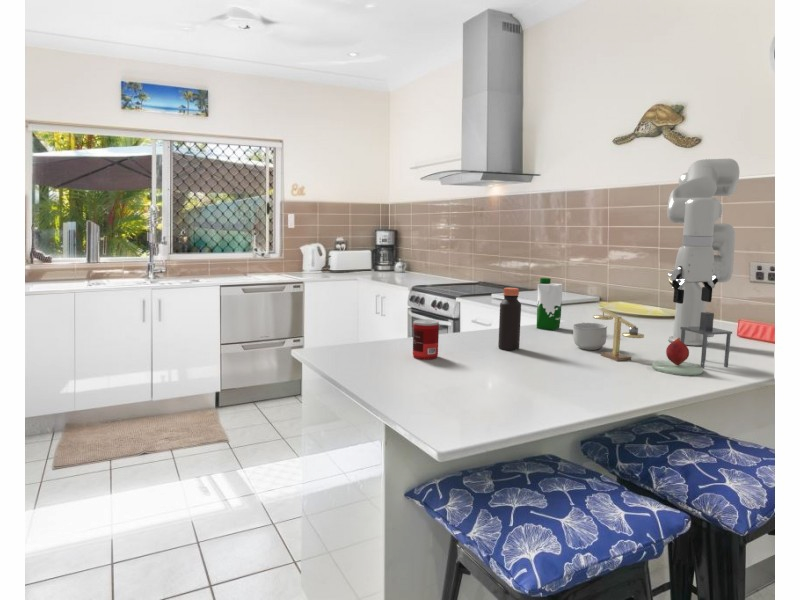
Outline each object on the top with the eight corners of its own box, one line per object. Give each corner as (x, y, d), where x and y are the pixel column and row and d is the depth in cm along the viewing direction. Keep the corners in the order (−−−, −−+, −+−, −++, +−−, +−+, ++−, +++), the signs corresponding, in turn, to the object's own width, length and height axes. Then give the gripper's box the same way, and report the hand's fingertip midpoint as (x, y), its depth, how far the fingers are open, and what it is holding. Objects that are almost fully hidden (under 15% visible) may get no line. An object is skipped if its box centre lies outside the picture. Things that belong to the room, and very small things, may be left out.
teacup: (608, 352, 184) (609, 328, 183) (573, 350, 186) (574, 326, 185) (601, 344, 197) (603, 321, 196) (569, 342, 199) (570, 320, 198)
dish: (679, 363, 170) (679, 359, 170) (713, 374, 157) (714, 370, 157) (642, 365, 166) (642, 361, 166) (675, 376, 154) (675, 372, 154)
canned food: (440, 355, 175) (441, 320, 174) (433, 360, 167) (434, 324, 166) (417, 353, 177) (418, 318, 176) (409, 358, 170) (409, 322, 169)
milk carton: (540, 325, 233) (543, 277, 231) (562, 328, 229) (565, 278, 226) (533, 328, 226) (535, 278, 224) (555, 331, 221) (558, 280, 219)
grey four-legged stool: (703, 359, 175) (708, 310, 173) (729, 367, 166) (733, 314, 164) (677, 361, 173) (681, 310, 171) (702, 368, 163) (706, 315, 161)
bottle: (498, 346, 191) (501, 287, 188) (519, 347, 189) (521, 287, 187) (497, 350, 184) (500, 289, 181) (519, 351, 183) (522, 289, 180)
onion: (679, 369, 158) (679, 341, 157) (661, 364, 163) (661, 337, 162) (693, 365, 160) (693, 337, 159) (675, 361, 166) (675, 334, 164)
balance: (587, 351, 185) (590, 307, 183) (603, 350, 187) (606, 306, 185) (629, 366, 165) (632, 316, 163) (646, 365, 167) (650, 316, 165)
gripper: (711, 241, 165) (706, 298, 168) (662, 242, 161) (657, 301, 164) (732, 242, 158) (727, 302, 161) (681, 243, 154) (676, 305, 156)
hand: (692, 302), depth 162 cm, fingers open, 9 cm apart
